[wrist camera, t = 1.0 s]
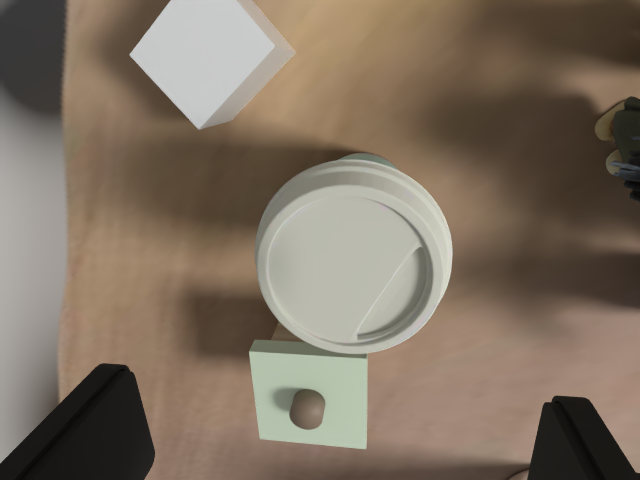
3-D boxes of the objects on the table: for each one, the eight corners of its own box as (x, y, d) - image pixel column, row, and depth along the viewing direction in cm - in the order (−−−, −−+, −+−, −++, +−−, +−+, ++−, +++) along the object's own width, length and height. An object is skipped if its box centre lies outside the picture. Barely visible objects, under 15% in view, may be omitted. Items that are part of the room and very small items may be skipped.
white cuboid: (237, -18, 23) (201, -41, 19) (296, 52, 24) (275, 46, 20) (175, 59, 25) (129, 55, 21) (231, 121, 26) (198, 129, 22)
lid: (254, 339, 25) (242, 364, 23) (367, 346, 24) (365, 372, 22) (264, 424, 28) (254, 454, 25) (367, 433, 27) (365, 465, 24)
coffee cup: (337, 272, 29) (310, 389, 18) (276, 170, 27) (202, 232, 16) (449, 221, 27) (496, 322, 16) (391, 104, 24) (397, 124, 13)
